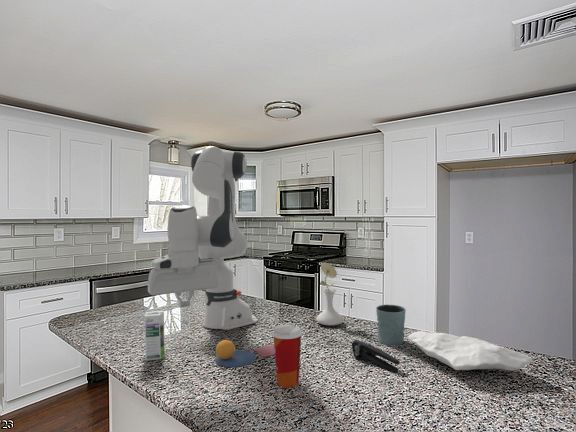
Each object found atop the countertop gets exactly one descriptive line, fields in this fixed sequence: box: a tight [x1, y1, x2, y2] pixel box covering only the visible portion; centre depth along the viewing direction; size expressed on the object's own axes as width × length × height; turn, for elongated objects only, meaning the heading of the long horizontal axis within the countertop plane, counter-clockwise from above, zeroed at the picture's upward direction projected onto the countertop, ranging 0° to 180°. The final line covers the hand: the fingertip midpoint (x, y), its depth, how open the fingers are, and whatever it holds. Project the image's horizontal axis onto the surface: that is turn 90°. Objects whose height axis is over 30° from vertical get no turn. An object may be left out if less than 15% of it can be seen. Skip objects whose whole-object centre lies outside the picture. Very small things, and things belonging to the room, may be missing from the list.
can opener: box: [351, 339, 401, 373], centre depth 115 cm, size 18×7×6 cm, turn 35°
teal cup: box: [375, 304, 406, 347], centre depth 133 cm, size 10×10×12 cm
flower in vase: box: [315, 262, 345, 326], centre depth 155 cm, size 13×11×25 cm
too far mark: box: [253, 344, 275, 358], centre depth 126 cm, size 8×8×1 cm
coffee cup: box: [271, 324, 303, 389], centre depth 102 cm, size 8×8×15 cm
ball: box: [215, 339, 236, 360], centre depth 119 cm, size 6×6×6 cm
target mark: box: [214, 349, 257, 368], centre depth 120 cm, size 13×13×1 cm
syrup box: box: [144, 310, 166, 362], centre depth 122 cm, size 6×6×14 cm
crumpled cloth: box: [406, 330, 533, 372], centre depth 112 cm, size 24×35×9 cm
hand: (184, 306), depth 111 cm, fingers closed
